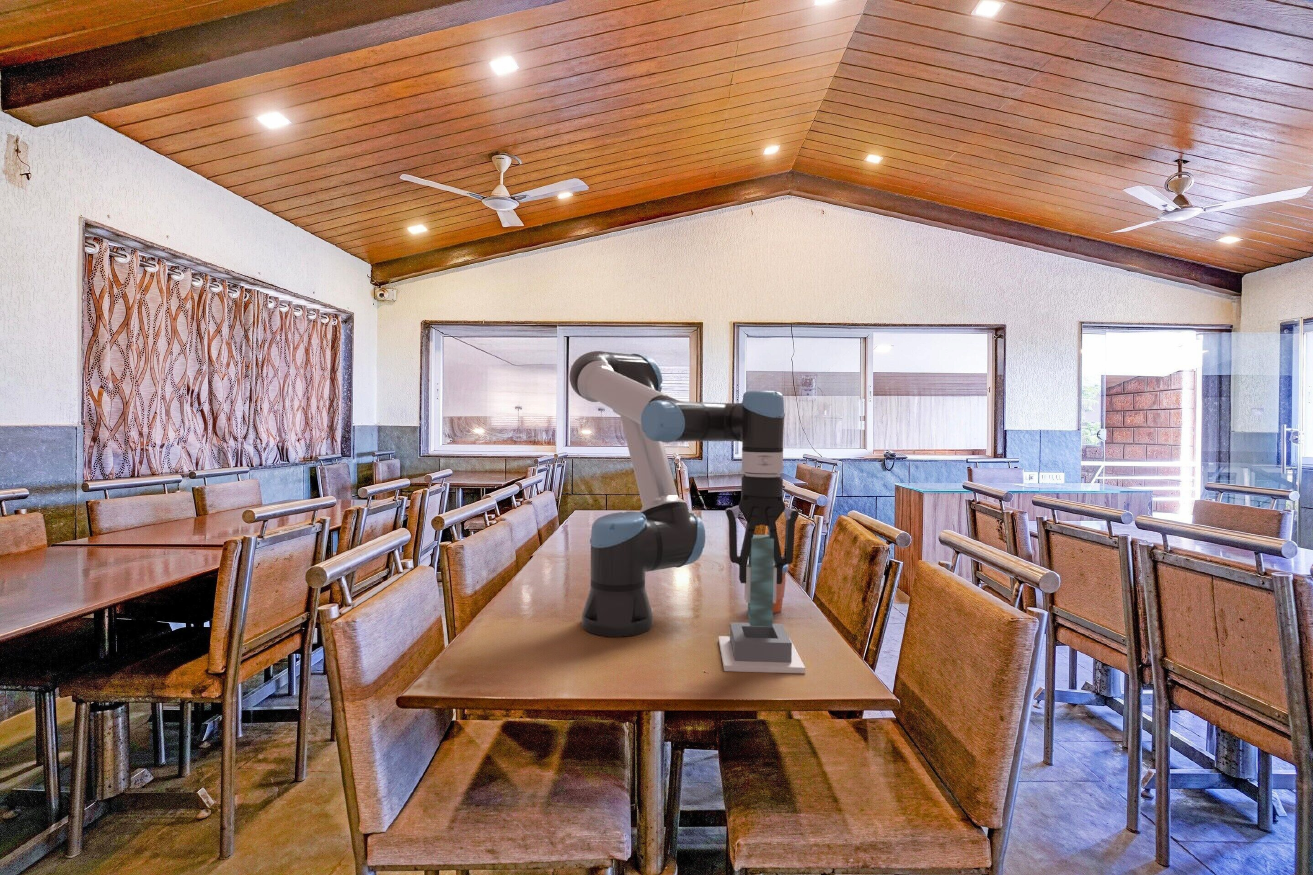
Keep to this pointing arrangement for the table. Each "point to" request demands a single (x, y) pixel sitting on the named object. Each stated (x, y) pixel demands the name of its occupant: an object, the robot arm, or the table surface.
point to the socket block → (759, 650)
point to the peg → (761, 581)
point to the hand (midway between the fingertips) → (760, 600)
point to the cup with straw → (780, 590)
